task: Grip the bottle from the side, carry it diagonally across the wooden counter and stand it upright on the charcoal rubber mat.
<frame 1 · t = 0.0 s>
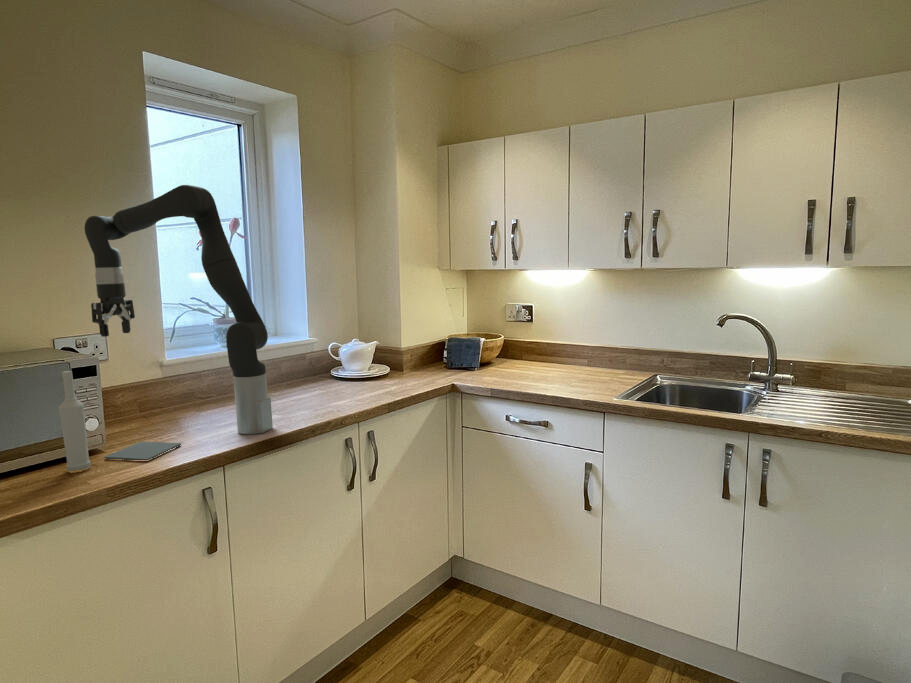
hand: (116, 334, 180), 29 cm above the worktop, tool pointing down, fingers open, 8 cm apart
charcoal mat: (144, 452, 156), on the worktop
bottle: (79, 470, 144), on the worktop
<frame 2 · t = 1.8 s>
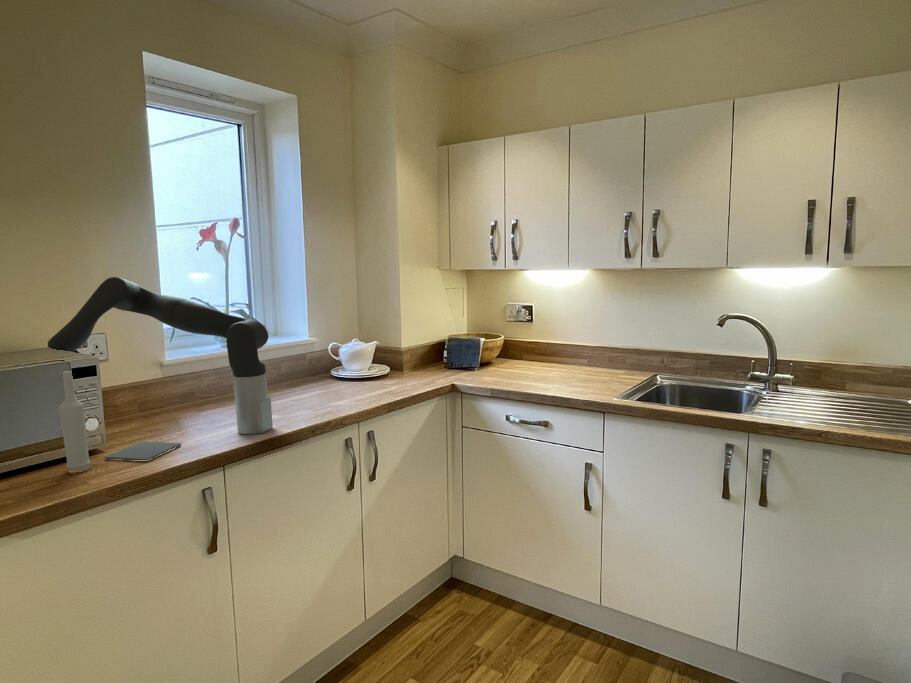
hand: (60, 379, 149), 22 cm above the worktop, tool horizontal, fingers open, 8 cm apart
nothing on the worktop moved.
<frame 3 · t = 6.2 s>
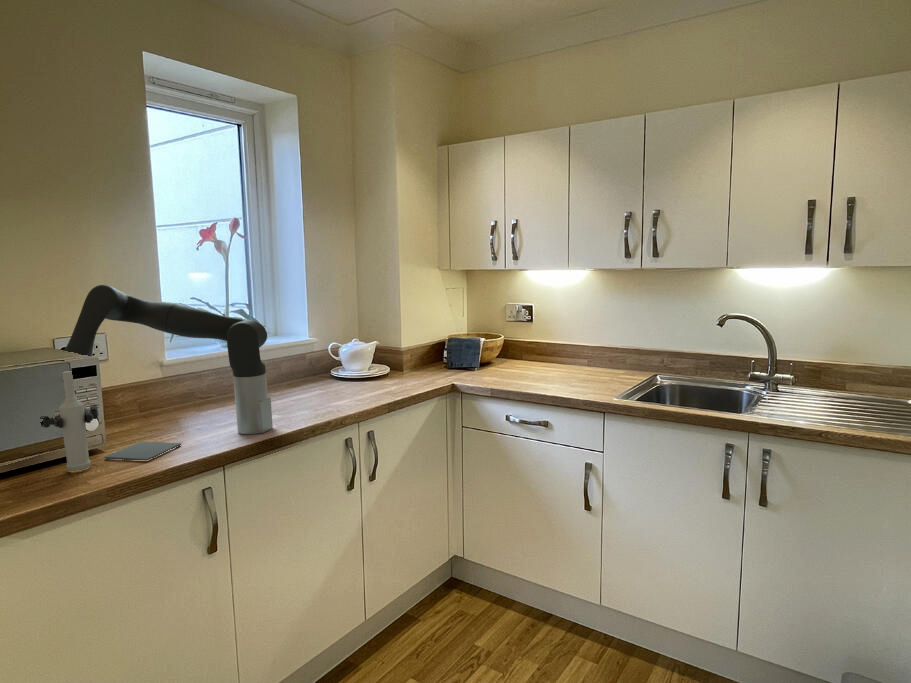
hand: (75, 421, 140), 13 cm above the worktop, tool horizontal, fingers closed on bottle, 5 cm apart
bottle: (79, 470, 144), on the worktop, touching gripper
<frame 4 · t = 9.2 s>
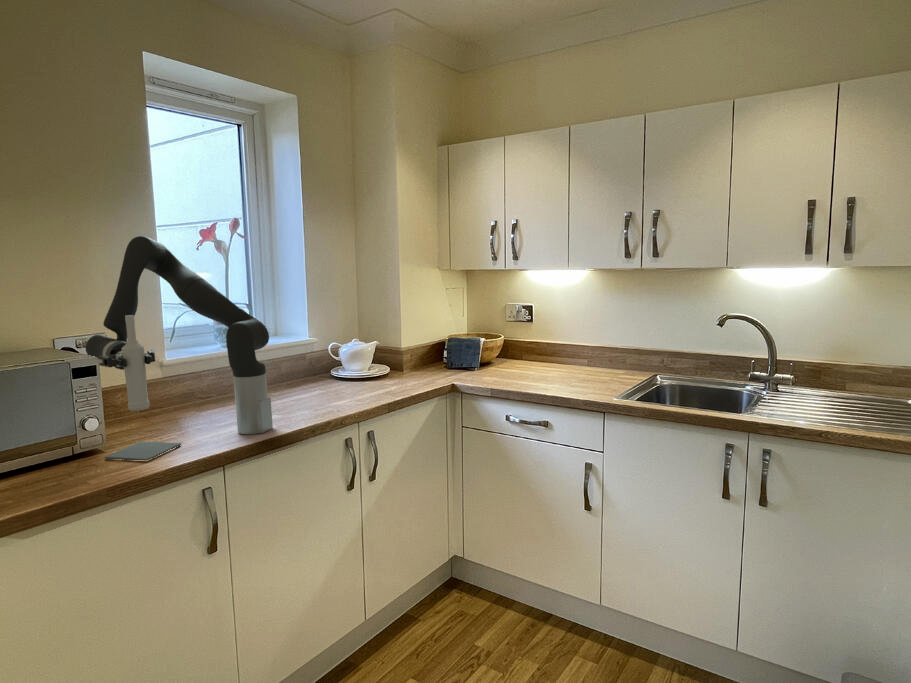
hand: (137, 361, 151), 25 cm above the worktop, tool horizontal, fingers closed on bottle, 5 cm apart
bottle: (139, 409, 155), point 12 cm above the worktop, touching gripper
when the fingers open (15 cm above the worktop, at t = 12.3 s): bottle drops 1 cm, resting on charcoal mat.
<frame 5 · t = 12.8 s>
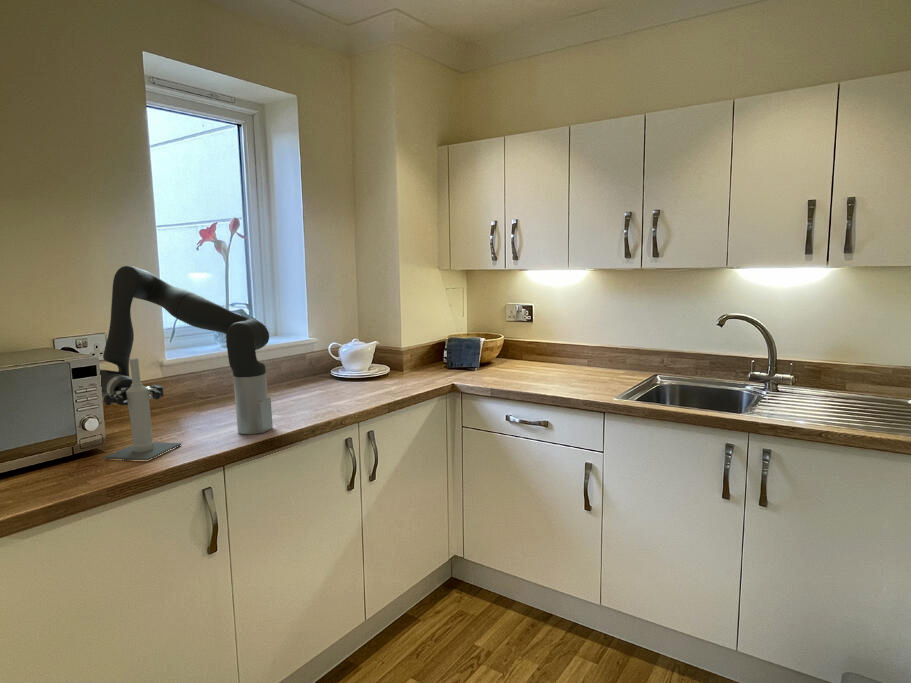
hand: (140, 398, 153), 15 cm above the worktop, tool horizontal, fingers open, 8 cm apart
bottle: (143, 450, 156), point 1 cm above the worktop, touching charcoal mat
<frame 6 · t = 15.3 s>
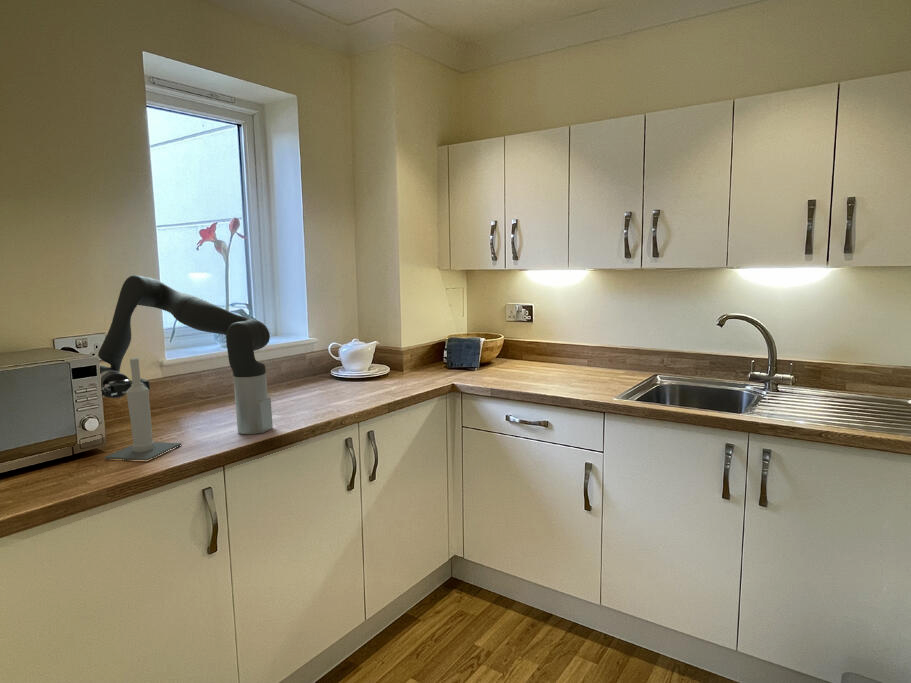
hand: (127, 391, 162), 15 cm above the worktop, tool horizontal, fingers open, 8 cm apart
nothing on the worktop moved.
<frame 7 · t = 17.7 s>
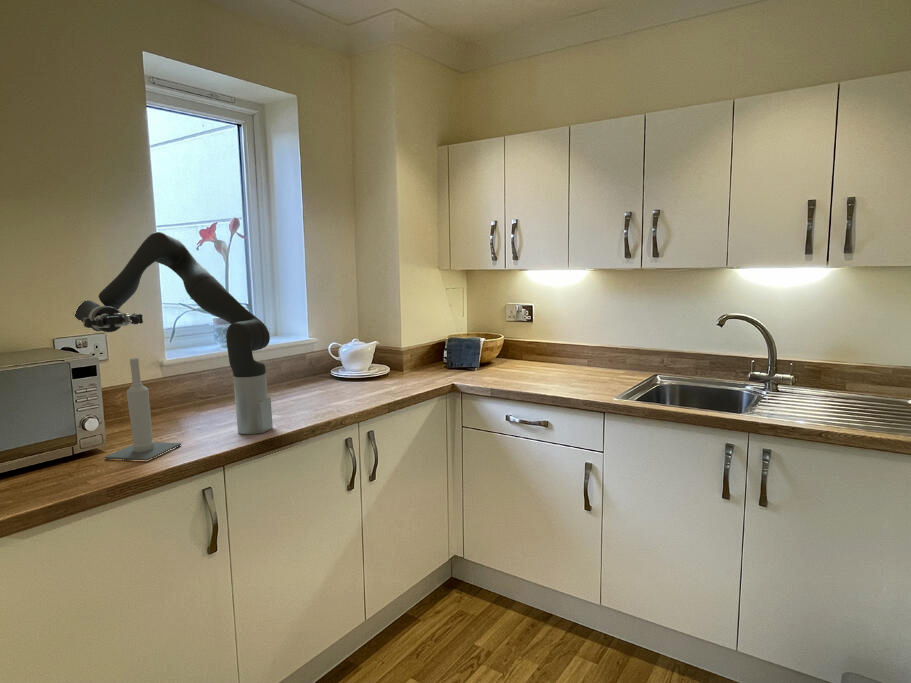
hand: (119, 321, 159), 35 cm above the worktop, tool horizontal, fingers open, 8 cm apart
nothing on the worktop moved.
at the end: bottle inside the target area on the charcoal mat (0.2 cm from its centre), point 0.6 cm above the charcoal mat's base; bottle tilted 0°; the gripper is holding nothing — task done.
